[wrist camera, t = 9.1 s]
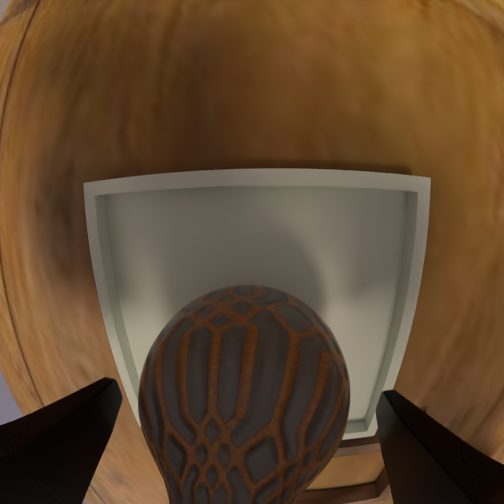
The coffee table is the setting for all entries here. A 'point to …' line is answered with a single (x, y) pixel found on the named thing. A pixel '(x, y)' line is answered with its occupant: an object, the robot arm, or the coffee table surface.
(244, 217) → the tray
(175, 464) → the vase
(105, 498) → the coffee table surface
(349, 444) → the holder
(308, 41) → the coffee table surface
